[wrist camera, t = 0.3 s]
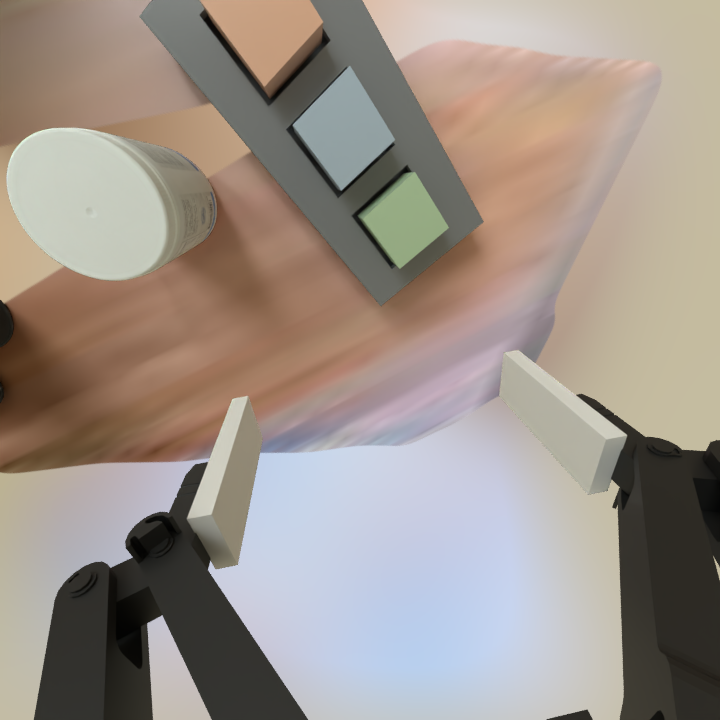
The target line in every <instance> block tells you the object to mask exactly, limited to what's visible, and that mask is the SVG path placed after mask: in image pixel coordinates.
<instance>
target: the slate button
mask: <svg viewBox="0 0 720 720" xmlns="http://www.w3.org/2000/svg"><path fill="white" fill-rule="evenodd" d="M293 128H294V132H295V133H296V135H297V136H298V137H299V139H300V140H301V141H302V143H303V144H304V145H305V147H306V148H307V149H308V151H309V152H310V153H311V155H312V156H313V157H314V159H315V160H316V161H317V163H318V164H319V165H320V167H321V168H322V169H323V171H324V172H325V173H326V175H327V176H328V177H329V179H330V180H331V181H332V183H333V184H334V185H335V187H336V188H337V189H338V190H341V191H342V190H343V189H344V188H345V187H346V186H347V185H348V184H349V183H350V182H351V181H352V180H353V179H354V178H355V177H356V176H357V175H359V174H360V173H361V172H362V171H363V170H364V169H365V168H366V167H367V166H368V165H369V164H370V163H371V162H372V161H373V160H374V159H375V158H377V157H378V156H379V155H380V154H381V153H382V152H383V151H384V150H385V149H386V148H387V147H388V146H389V145H390V144H391V143H392V142H394V141H395V138H394V137H393V135H392V134H391V132H390V130H389V129H388V127H387V125H386V124H385V122H384V121H383V119H382V117H381V116H380V114H379V112H378V111H377V109H376V107H375V106H374V104H373V103H372V101H371V99H370V98H369V96H368V94H367V93H366V91H365V89H364V88H363V86H362V85H361V83H360V81H359V80H358V78H357V76H356V75H355V73H354V71H353V70H352V68H351V67H350V66H349V67H348V68H347V69H346V70H345V71H344V72H343V73H342V74H341V75H340V76H339V77H338V78H337V79H336V80H335V81H334V83H333V84H332V85H331V86H330V87H329V88H328V89H327V90H326V91H325V92H324V93H323V94H322V95H321V96H320V97H319V98H318V99H317V100H316V101H315V102H314V103H313V104H312V105H311V106H310V107H309V108H308V110H307V111H306V112H305V113H304V114H303V115H302V116H301V117H300V118H299V119H298V120H297V121H296V122H295V123H294V124H293Z"/></svg>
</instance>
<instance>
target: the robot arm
mask: <svg viewBox="0 0 720 720" xmlns="http://www.w3.org/2000/svg"><path fill="white" fill-rule="evenodd" d="M499 397H500V398H501V399H502V400H503V401H504V402H505V403H506V404H507V405H508V407H509V408H510V409H511V410H512V411H513V412H514V413H515V414H516V415H517V416H518V418H519V419H520V420H521V421H522V422H523V423H524V424H525V425H526V426H527V427H528V428H529V430H530V431H531V432H532V433H533V434H534V435H535V436H536V438H537V439H538V440H539V441H540V442H541V443H542V444H543V445H544V446H545V447H546V449H547V450H548V451H549V452H550V453H551V454H552V455H553V456H554V457H555V458H556V460H557V461H558V462H559V463H560V464H561V465H562V466H563V467H564V468H565V469H566V471H567V472H568V473H569V474H570V475H571V476H572V477H573V478H574V479H575V481H576V482H577V483H578V484H579V485H580V486H581V487H582V488H583V489H584V491H585V492H587V494H588V495H589V494H595V493H600V492H605V491H608V488H609V485H610V482H611V480H613V481H614V482H615V483H616V484H617V485H618V486H619V487H620V488H619V491H618V493H617V496H616V499H615V502H614V504H613V508H615V509H616V507H617V505H618V525H619V558H620V588H621V618H622V647H623V648H622V649H623V679H624V698H623V705H622V711H621V715H620V720H720V580H719V576H718V573H717V569H716V565H715V561H714V558H715V559H716V561H717V563H718V564H719V566H720V440H716V441H713V442H711V443H710V444H709V446H708V448H707V450H706V451H693V450H682V449H681V448H679V447H678V446H677V445H675V444H673V443H671V442H669V441H666V440H663V439H660V438H654V437H645V436H643V435H642V434H640V433H639V432H638V431H636V430H635V429H634V428H632V427H631V426H630V425H628V424H627V423H626V422H624V421H623V420H622V419H620V418H619V417H618V416H616V415H614V413H612V412H611V411H610V410H608V409H606V408H605V407H604V406H603V405H601V404H600V403H599V402H597V401H596V400H595V399H592V398H590V397H588V396H585V395H583V394H579V395H575V394H574V393H572V392H571V391H570V390H568V389H567V388H566V387H565V386H563V385H562V384H561V383H560V382H558V381H557V380H556V379H554V378H553V377H552V376H551V375H549V374H548V373H547V372H545V371H544V370H543V369H542V368H540V367H539V366H538V365H536V364H535V363H534V362H533V361H531V360H530V359H529V358H527V357H526V356H525V355H524V354H522V353H521V352H520V351H518V350H516V351H510V352H504V356H503V365H502V374H501V384H500V393H499ZM262 440H263V438H262V435H261V432H260V429H259V426H258V423H257V420H256V417H255V414H254V411H253V408H252V405H251V403H250V400H249V397H248V396H245V397H239V398H233V399H232V401H231V404H230V407H229V409H228V412H227V415H226V417H225V420H224V422H223V425H222V428H221V430H220V433H219V436H218V438H217V441H216V443H215V446H214V449H213V451H212V454H211V457H210V459H209V462H206V463H201V464H195V465H194V466H193V467H192V469H191V470H190V471H189V472H188V473H187V474H186V476H185V478H184V480H183V482H182V485H181V488H180V489H179V491H178V494H177V498H175V500H174V503H173V505H172V507H171V510H170V512H169V513H167V512H158V513H155V514H152V515H150V516H148V517H146V518H144V519H143V520H142V521H140V522H139V523H138V524H137V525H136V526H134V528H133V529H132V530H131V531H130V533H129V534H128V536H127V539H126V541H125V543H126V549H127V550H128V551H129V553H130V554H131V555H132V556H133V558H131V559H129V560H127V561H124V562H123V563H120V564H118V565H116V566H114V567H112V568H110V567H109V566H108V565H107V564H106V563H104V562H94V563H91V564H89V565H86V566H84V567H83V568H81V569H80V570H78V571H77V572H75V573H74V574H73V575H72V576H71V577H70V578H68V579H67V580H66V581H65V583H64V584H63V585H62V587H61V588H60V590H59V591H58V593H57V596H56V598H55V602H54V608H53V614H52V619H51V625H50V631H49V636H48V642H47V648H46V654H45V659H44V665H43V671H42V677H41V682H40V688H39V693H38V699H37V705H36V710H35V717H34V720H153V716H152V715H153V714H152V698H151V682H150V665H149V647H148V631H147V623H148V622H150V621H152V620H154V619H156V618H158V617H160V616H161V615H163V617H164V619H165V621H166V624H167V626H168V628H169V630H170V632H171V634H172V636H173V638H174V641H175V642H176V645H177V647H178V649H179V651H180V653H181V655H182V657H183V659H184V662H185V663H186V666H187V668H188V670H189V672H190V674H191V676H192V679H193V680H194V683H195V685H196V687H197V689H198V691H199V693H200V695H201V698H202V700H203V702H204V704H205V706H206V708H207V710H208V712H209V714H210V716H211V719H212V720H308V719H307V717H306V716H305V714H304V713H303V711H302V710H301V708H300V707H299V705H298V704H297V702H296V701H295V699H294V698H293V697H292V695H291V693H290V692H289V690H288V689H287V688H286V686H285V685H284V683H283V682H282V680H281V679H280V677H279V676H278V674H277V673H276V671H275V670H274V668H273V667H272V665H271V664H270V662H269V661H268V659H267V658H266V656H265V655H264V653H263V652H262V650H261V649H260V647H259V646H258V644H257V643H256V641H255V640H254V638H253V637H252V635H251V634H250V632H249V631H248V630H247V628H246V626H245V625H244V623H243V622H242V621H241V619H240V617H239V616H238V615H237V613H236V612H235V610H234V609H233V607H232V606H231V604H230V603H229V601H228V600H227V598H226V597H225V595H224V594H223V592H222V591H221V589H220V588H219V587H218V585H217V583H216V582H215V580H214V579H213V577H212V576H211V574H210V573H209V571H208V567H209V563H210V560H211V562H212V564H213V565H214V567H215V569H220V568H225V567H229V566H235V565H238V560H239V555H240V551H241V545H242V540H243V535H244V530H245V525H246V520H247V515H248V510H249V505H250V500H251V495H252V490H253V485H254V480H255V474H256V470H257V465H258V460H259V454H260V450H261V445H262ZM713 556H714V558H713ZM547 720H592V717H591V716H590V714H589V712H588V710H584V711H579V712H575V713H571V714H567V715H563V716H558V717H554V718H550V719H547Z"/></svg>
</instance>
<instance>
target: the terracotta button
mask: <svg viewBox="0 0 720 720" xmlns="http://www.w3.org/2000/svg"><path fill="white" fill-rule="evenodd" d="M200 2H201V4H202V5H203V7H204V9H205V11H206V12H207V14H208V16H209V17H210V19H211V21H212V22H213V24H214V25H215V27H216V28H217V29H218V31H219V32H220V33H221V35H222V36H223V37H224V39H225V40H226V41H227V43H228V44H229V45H230V47H231V48H232V49H233V51H234V52H235V53H236V55H237V56H238V57H239V59H240V60H241V61H242V63H243V64H244V65H245V67H246V68H247V69H248V71H249V72H250V73H251V75H252V76H253V77H254V79H255V80H256V81H257V83H258V84H259V85H260V87H261V88H262V89H263V91H264V92H265V93H266V95H267V96H268V97H269V99H271V97H272V96H273V95H274V94H275V93H276V92H277V91H278V90H279V89H280V88H281V87H282V86H283V84H284V83H285V82H286V81H287V80H288V79H289V78H290V77H291V76H292V75H293V74H294V73H295V72H296V70H297V69H298V68H299V67H300V66H301V65H302V64H303V63H304V62H305V61H306V60H307V59H308V57H309V56H310V55H311V54H312V53H313V52H314V51H315V50H316V49H317V48H318V47H319V46H320V44H321V43H322V31H323V21H322V19H321V17H320V16H319V14H318V13H317V11H316V9H315V8H314V6H313V4H312V3H311V1H310V0H200Z"/></svg>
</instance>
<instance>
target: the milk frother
mask: <svg viewBox="0 0 720 720" xmlns="http://www.w3.org/2000/svg"><path fill="white" fill-rule="evenodd" d="M12 334H13V321H12V318H11V315H10V312H9V311H8V309H7V308H6V306H5V305H4V303H3V302H2V301H1V300H0V347H2V346H3V345H4V344H6V343H7V342H8V341H9V340H10V338H11V336H12ZM3 397H4V390H3V387H2V385H1V383H0V403H1V401H2V399H3Z"/></svg>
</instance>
